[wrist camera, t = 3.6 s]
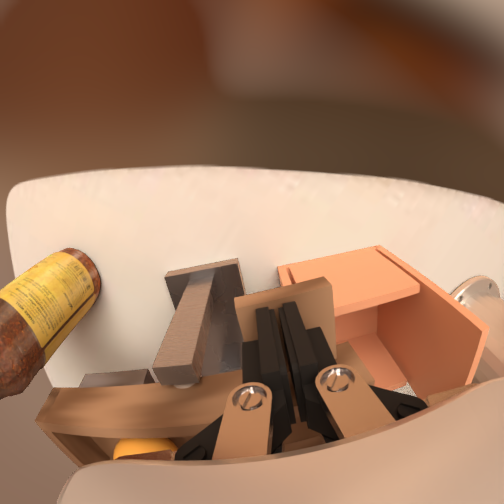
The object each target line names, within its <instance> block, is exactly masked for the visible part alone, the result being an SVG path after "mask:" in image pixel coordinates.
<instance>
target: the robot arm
mask: <svg viewBox="0 0 504 504" xmlns="http://www.w3.org/2000/svg"><path fill="white" fill-rule="evenodd" d="M450 296H452V297H453V298H454V299H456V300H457V301H458V302H459V303H461V304H462V305H463V306H464V307H466V308H467V309H468V310H469V311H471V312H472V313H473V314H474V315H476V316H477V317H478V318H479V319H480V320H482V321H483V322H484V323H485V324H486V325H488V326H489V327H490V328H489V332H488V336H487V339H486V342H485V346H484V349H483V352H482V355H481V358H480V361H479V364H478V367H477V369H476V372H475V375H474V377H473V380H472V382H471V384H468V385H465V386H462V387H458V388H455V389H451V390H448V391H444V392H440V393H436V394H432V395H428V396H427V397H426V399H423V400H422V399H420V398H418V397H415V396H411V395H406V394H402V393H398V392H394V391H390V390H387V389H383V388H379V387H375V386H372V385H368V384H367V383H366V382H365V380H364V379H363V378H362V376H361V375H360V374H359V373H358V371H357V370H355V369H354V368H353V367H351V366H348V365H343V364H338V365H337V363H336V361H335V358H334V356H333V354H332V351H331V349H330V347H329V345H328V342H327V340H326V338H325V336H324V333H323V331H322V329H321V327H315V328H311V329H307V330H306V329H305V326H304V323H303V321H302V318H301V315H300V312H299V310H298V307H297V304H296V302H295V301H292V302H288V303H283V304H282V305H283V307H280V308H278V311H279V317H280V322H281V327H282V333H283V338H284V344H285V349H286V355H287V360H288V365H289V370H290V374H291V379H292V384H293V388H294V393H295V397H296V402H297V407H298V411H299V416H300V421H301V422H307V427H308V429H311V430H313V431H316V432H318V433H319V435H320V439H321V441H322V443H323V444H322V445H317V446H313V447H308V448H304V449H299V450H294V451H288V452H284V448H285V444H284V440H285V439H286V438H287V437H288V436H289V435H290V434H291V433H292V429H291V424H296V418H295V412H294V407H293V401H292V396H291V390H290V385H289V379H288V374H287V369H286V364H285V359H284V354H283V349H282V344H281V340H280V335H279V330H278V325H277V321H276V316H275V311H274V309H271V310H269V307H263V308H258V309H255V310H256V321H257V332H258V340H253V341H247V342H243V343H242V385H239V386H238V387H236V388H235V389H233V390H232V391H231V393H230V394H229V396H228V398H227V402H226V406H225V410H224V414H222V415H221V416H220V417H219V418H217V419H216V420H215V421H214V422H212V423H211V424H210V425H208V426H207V427H206V428H205V429H203V430H202V431H201V432H199V433H198V434H197V435H195V436H194V437H193V438H191V439H190V440H189V441H187V442H186V443H184V444H183V445H182V446H181V447H180V448H179V449H178V450H177V451H173V452H172V451H171V449H168V450H162V451H156V452H149V453H141V454H133V455H124V456H120V457H118V458H116V459H115V460H108V461H101V462H96V463H91V464H88V465H85V466H82V467H80V468H79V469H77V470H76V471H74V473H72V474H71V476H70V477H69V478H68V480H67V482H66V483H65V485H64V487H63V489H62V491H61V493H60V496H59V498H58V500H57V503H56V504H504V301H503V300H502V299H501V298H500V293H499V288H498V286H497V284H496V283H495V282H494V281H493V280H491V279H490V278H488V277H486V276H476V277H474V278H471V279H469V280H467V281H466V282H464V283H463V284H462V285H461V286H459V287H458V288H457V289H456V290H455V291H454V292H453V293H452V294H451V295H450Z"/></svg>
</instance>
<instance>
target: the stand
mask: <svg viewBox="0 0 504 504" xmlns="http://www.w3.org/2000/svg"><path fill="white" fill-rule="evenodd" d="M165 280H166V284H167V287H168V290H169V292H170V295H171V298H172V301H173V304H174V307H175V310H176V312H175V314H174V316H173V318H172V321H171V323H170V325H169V328H168V330H167V332H166V335H165V337H164V340H163V342H162V344H161V347H160V349H159V352H158V354H157V357H156V359H155V361H154V364H153V366H152V369H153V371H154V373H155V375H156V376H157V378H158V380H159V382H160V384H161V385H178V384H191V383H199V382H200V377H201V376H202V377H203V376H209V375H215V374H221V373H226V372H231V371H237V370H242V343H243V342H244V340H243V336H242V332H241V328H240V325H239V321H238V317H237V314H236V310H235V302H234V298H235V297H240V296H244V295H246V292H245V287H244V283H243V279H242V275H241V270H240V266H239V262H238V258H235V259H230V260H225V261H220V262H215V263H210V264H205V265H200V266H195V267H190V268H185V269H180V270H175V271H170V272H168V273H167V274H166V276H165Z"/></svg>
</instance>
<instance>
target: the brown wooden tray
mask: <svg viewBox="0 0 504 504" xmlns="http://www.w3.org/2000/svg"><path fill="white" fill-rule="evenodd" d="M292 301H295V302H296V304H297V307H298V310H299V312H300V315H301V318H302V321H303V323H304V326H305V329H306V330H307V329H311V328H315V327H321V329H322V331H323V333H324V336H325V338H326V340H327V342H328V345H329V347H330V349H331V351H332V354H333V356H334V358H335V361H336V363H337V365H338V364H343V365H348V366H351V367H353V368H354V369H355V370H357V371H358V373H359V374H360V375H361V376H362V378H363V379H364V380H365V382H366V383H367V384H368V385H372V386H374V384H375V380H374V378H373V377H372V375H371V374H370V372H369V371H368V369H367V368H366V367H365V365H364V364H363V362H362V361H361V359H360V358H359V356H358V355H357V354H356V352H355V351H354V349H353V348H352V346H351V345H350V344H349V342H348V341H347V342H344V343H341V344H338V345H336V331H335V315H334V302H333V290H332V284H331V283H330V282H329V281H328V280H327V279H326V278H325V277H324V276H322V277H319V278H315V279H311V280H307V281H303V282H299V283H295V284H291V285H287V286H283V287H278V288H274V289H270V290H266V291H262V292H257V293H253V294H249V295H244V296H240V297H235V298H234V302H235V310H236V314H237V317H238V321H239V325H240V328H241V332H242V336H243V340H244V342H247V341H253V340H258V332H257V321H256V310H255V309H258V308H263V307H269V310H271V309H274V311H275V316H276V321H277V325H278V330H279V335H280V340H281V344H282V349H283V354H284V359H285V364H286V369H287V374H288V379H289V385H290V390H291V396H292V401H293V407H294V412H295V418H296V424H291V429H292V433H291V434H290V435H289V436H288V437H287V438H286V439H285V440H284V444H285V448H284V452H288V451H294V450H299V449H304V448H308V447H313V446H317V445H322V444H323V443H322V441H321V439H320V435H319V433H318V432H316V431H313V430H311V429H308V427H307V422H301V421H300V416H299V411H298V407H297V402H296V397H295V393H294V388H293V384H292V379H291V374H290V370H289V365H288V360H287V355H286V349H285V344H284V338H283V333H282V327H281V322H280V317H279V311H278V308H280V307H283V305H282V304H283V303H288V302H292ZM239 385H242V370H237V371H231V372H226V373H221V374H215V375H209V376H203V377H200V382H199V383H191V384H178V385H161V384H160V383H155V382H154V380H153V378H152V376H151V374H150V372H149V370H148V369H141V370H132V371H122V372H110V373H96V374H85V376H84V378H83V380H82V382H81V384H80V386H79V388H53V389H52V391H51V393H50V394H49V396H48V398H47V400H46V402H45V403H44V405H43V407H42V409H41V410H40V412H39V414H38V416H37V418H36V420H35V422H36V423H37V425H38V426H39V427H40V428H41V429H42V430H43V431H44V432H45V434H46V435H47V436H48V437H49V438H50V439H51V440H52V441H53V442H54V443H55V444H56V445H57V446H58V447H59V448H60V450H61V451H62V452H64V453H65V454H66V455H67V456H68V457H69V458H70V459H71V460H72V461H73V462H74V463H75V464H76V465H77V466H78V467H79V468H80V467H82V466H85V465H88V464H91V463H96V462H101V461H108V460H113V454H114V449H115V446H116V444H117V443H118V441H119V440H120V439H121V438H168V439H170V440H171V441H172V442H173V443H174V444H175V445H176V446H177V448H178V449H179V448H180V447H181V446H182V445H183V444H184V443H186V442H187V441H189V440H190V439H191V438H193V437H194V436H195V435H197V434H198V433H199V432H201V431H202V430H203V429H205V428H206V427H207V426H208V425H210V424H211V423H212V422H214V421H215V420H216V419H217V418H219V417H220V416H221V415H222V414H224V410H225V406H226V402H227V398H228V396H229V394H230V393H231V391H232V390H233V389H235V388H236V387H238V386H239Z"/></svg>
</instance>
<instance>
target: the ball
mask: <svg viewBox="0 0 504 504" xmlns="http://www.w3.org/2000/svg"><path fill="white" fill-rule="evenodd" d="M168 449H171V451H172V452H173V451H177V450H178V448H177V446H176V445H175V444H174V443H173V442H172V441H171V440H170V439H168V438H121V439H120V440H119V441H118V443H117V444H116V446H115V449H114V454H113V460H115V459H116V458H118V457H120V456H124V455H133V454H141V453H149V452H156V451H162V450H168Z"/></svg>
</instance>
